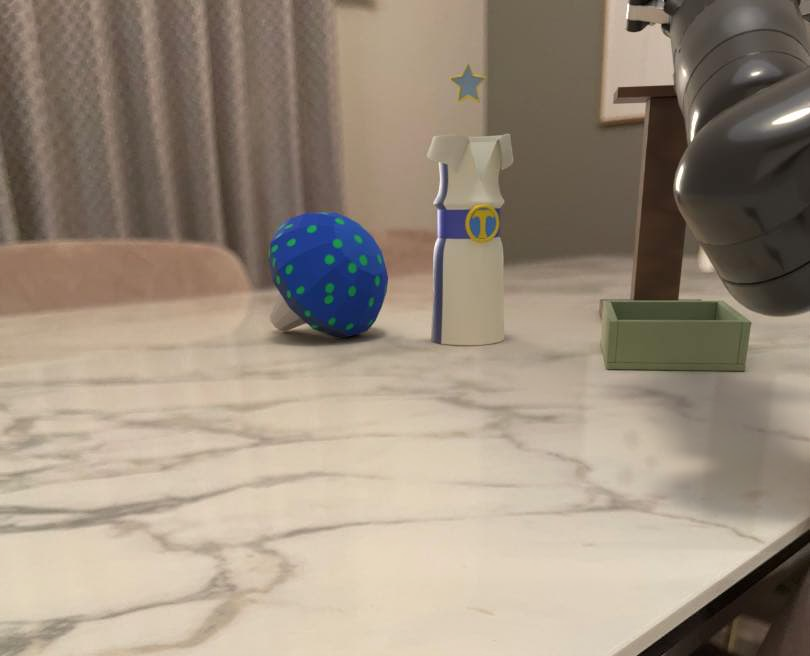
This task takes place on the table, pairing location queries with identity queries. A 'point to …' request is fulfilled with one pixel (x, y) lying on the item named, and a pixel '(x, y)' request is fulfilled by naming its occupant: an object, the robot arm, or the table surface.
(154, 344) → the table surface
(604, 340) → the tray
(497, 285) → the cream dress figure
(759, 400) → the table surface
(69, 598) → the table surface
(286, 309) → the mushroom
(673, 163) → the stand
